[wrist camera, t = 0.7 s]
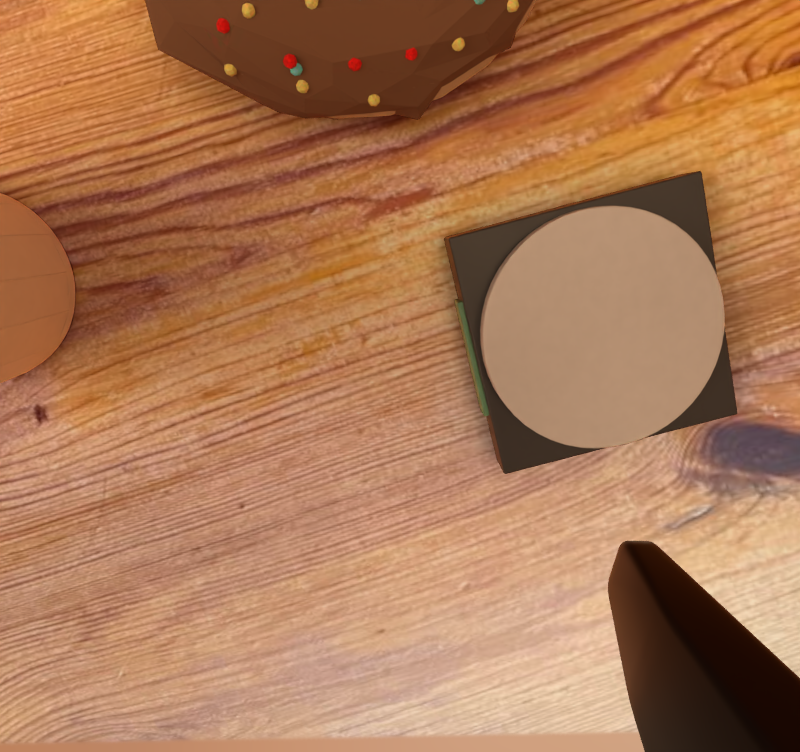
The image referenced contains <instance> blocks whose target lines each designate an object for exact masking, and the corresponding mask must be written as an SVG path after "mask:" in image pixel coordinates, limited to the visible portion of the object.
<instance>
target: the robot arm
mask: <svg viewBox="0 0 800 752" xmlns="http://www.w3.org/2000/svg"><path fill="white" fill-rule="evenodd" d="M608 594H609V600H610V605H611V610H612V615H613V620H614V626H615V631H616V636H617V641H618V646H619V651H620V656H621V661H622V666H623V671H624V676H625V681H626V686H627V691H628V695H629V700H630V704H631V707H632V711H633V714H634V718H635V721H636V724H637V728H638V731H639V734H640V737H641V740H642V743H643V747H644V750H645V752H800V678H799V677H798V676H797V675H796V674H795V673H794V672H793V671H792V670H790V669H789V668H788V667H787V666H786V665H785V664H784V663H783V662H782V661H781V660H780V659H779V658H778V657H776V656H775V655H774V654H773V653H772V652H771V651H770V650H769V649H768V648H767V647H766V646H765V645H764V644H762V643H761V642H760V641H759V640H758V639H757V638H756V637H755V636H754V635H753V634H752V633H751V632H750V631H749V630H747V629H746V628H745V627H744V626H743V625H742V624H741V623H740V622H739V621H738V620H737V619H736V618H735V617H733V616H732V615H731V614H730V613H729V612H728V611H727V610H726V609H725V608H724V607H723V606H722V605H721V604H719V603H718V602H717V601H716V600H715V599H714V598H713V597H712V596H711V595H710V594H709V593H708V592H707V591H706V590H704V589H703V588H702V587H701V586H700V585H699V584H698V583H697V582H696V581H695V580H694V579H693V578H692V577H690V576H689V575H688V574H687V573H686V572H685V571H684V570H683V569H682V568H681V567H680V566H679V565H678V564H676V563H675V562H674V561H673V560H672V559H671V558H670V557H669V556H668V555H667V554H666V553H665V552H664V551H662V550H661V549H660V548H659V547H658V546H657V545H656V544H654V543H652V542H649V541H625V542H623V543H622V544H621V545H620V547H619V550H618V553H617V556H616V559H615V562H614V565H613V568H612V571H611V574H610V577H609V582H608Z"/></svg>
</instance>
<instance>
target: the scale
mask: <svg viewBox="0 0 800 752" xmlns="http://www.w3.org/2000/svg"><path fill="white" fill-rule="evenodd" d="M444 241H445V245H446V249H447V254H448V258H449V262H450V266H451V270H452V274H453V279H454V283H455V287H456V291H457V295H458V299H456V300H455V301H454V303H455V307H456V311H457V315H458V319H459V323H460V328H461V332H462V336H463V340H464V344H465V348H466V352H467V357H468V361H469V365H470V369H471V373H472V377H473V382H474V386H475V390H476V394H477V398H478V402H479V406H480V409H481V411H482V413H483V415H484V416H486V417H487V421H488V425H489V429H490V433H491V437H492V442H493V446H494V450H495V454H496V458H497V461H498V463H499V465H500V466H501V468H502V470H503V472H504V473H505V474H507V473H511V472H514V471H518V470H522V469H526V468H530V467H534V466H538V465H542V464H545V463H549V462H553V461H557V460H561V459H565V458H569V457H573V456H576V455H580V454H584V453H588V452H592V451H596V450H600V449H603V448H608V447H615V446H620V445H625V444H629V443H632V442H635V441H638V440H641V439H643V438H646V437H650V436H654V435H658V434H662V433H665V432H669V431H673V430H677V429H681V428H685V427H689V426H693V425H696V424H700V423H704V422H708V421H712V420H716V419H720V418H724V417H727V416H731V415H735V414H737V407H736V400H735V393H734V387H733V380H732V373H731V367H730V360H729V353H728V347H727V340H726V333H725V326H724V323H725V312H724V300H723V296H722V291H721V287H720V284H719V281H718V278H717V273H716V266H715V259H714V253H713V246H712V239H711V232H710V226H709V219H708V212H707V206H706V199H705V192H704V186H703V179H702V173H701V171H698V172H692V173H687V174H681V175H677V176H673V177H669V178H666V179H662V180H658V181H654V182H651V183H647V184H643V185H639V186H636V187H632V188H628V189H624V190H620V191H617V192H613V193H609V194H605V195H602V196H598V197H594V198H590V199H587V200H583V201H579V202H575V203H571V204H568V205H564V206H560V207H556V208H553V209H549V210H545V211H541V212H538V213H534V214H530V215H526V216H523V217H519V218H515V219H511V220H507V221H504V222H500V223H496V224H492V225H489V226H485V227H481V228H477V229H474V230H470V231H466V232H462V233H459V234H455V235H451V236H447V237H445V238H444Z"/></svg>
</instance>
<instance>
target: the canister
mask: <svg viewBox="0 0 800 752" xmlns="http://www.w3.org/2000/svg"><path fill="white" fill-rule="evenodd" d="M74 308H75V282H74V276H73V272H72V268H71V264H70V262H69V259H68V257H67V254H66V252H65V250H64V248H63V247H62V245H61V243H60V241H59V240H58V238H57V237H56V235H55V234H54V232H53V231H52V230H51V229H50V227H49V226H48V225H47V224H46V223H45V222H44V221H43V220H42V219H41V218H40V217H39V216H38V215H37V214H36V213H34V212H33V211H32V210H31V209H29V208H28V207H26V206H25V205H23V204H22V203H21V202H19V201H17V200H15V199H13V198H11V197H9V196H7V195H5V194H2V193H0V383H2V382H5V381H7V380H10V379H12V378H14V377H17V376H19V375H22V374H24V373H26V372H29V371H30V370H32V369H33V368H35V367H36V366H38V365H39V364H41V363H43V362H44V361H45V360H46V359H47V358H48V357H50V356H51V355H52V354H53V353H54V351H55V350H56V349H57V348H58V347H59V345H60V344H61V342H62V341H63V339H64V338H65V336H66V334H67V332H68V330H69V327H70V325H71V321H72V318H73V314H74Z"/></svg>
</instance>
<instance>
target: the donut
mask: <svg viewBox="0 0 800 752" xmlns="http://www.w3.org/2000/svg"><path fill="white" fill-rule="evenodd" d="M536 1H537V0H145V2H146V5H147V9H148V13H149V17H150V21H151V24H152V28H153V32H154V36H155V39H156V43H157V47H158V50H160V51H162V52H164V53H166V54H168V55H170V56H172V57H174V58H176V59H177V60H179V61H181V62H183V63H185V64H187V65H189V66H191V67H193V68H194V69H196V70H198V71H200V72H202V73H204V74H206V75H208V76H210V77H212V78H213V79H215V80H217V81H219V82H221V83H223V84H225V85H227V86H229V87H230V88H232V89H234V90H236V91H238V92H240V93H242V94H244V95H246V96H248V97H249V98H251V99H253V100H255V101H257V102H259V103H261V104H263V105H265V106H267V107H269V108H271V109H273V110H275V111H277V112H280V113H284V114H289V115H293V116H298V117H302V118H322V117H324V118H332V119H339V118H355V117H374V116H390V115H393V114H397V115H401V116H405V117H409V118H413V119H417V120H418V119H420V118H421V116H422V115H423V113H424V112H425V111H426V109H427V108H428V106H429V105H430V104H431V102H432V101H433V100H436V99H439V98H442V97H443V96H445V95H446V94H448V93H449V92H451V91H452V90H453V89H455V88H456V87H458V86H459V85H461V84H462V83H464V82H465V81H467V80H468V79H469V78H471V77H472V76H474V75H475V74H477V73H478V72H480V71H481V70H482V69H484V68H485V67H487V66H488V65H489V64H490V63H491V62H492V60H493V59H494V58H495V57H496V56H497V55H498V54H499V53H501V52H503V51H505V50H507V49H509V48H511V45H512V43H513V40H514V37H515V34H516V32H517V31H518V30H519V29H520V28H521V27H522V25H523V24H524V23H525V22H526V21H527V19H528V17H529V15H530V13H531V11H532V9H533V7H534V5H535V3H536Z"/></svg>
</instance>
